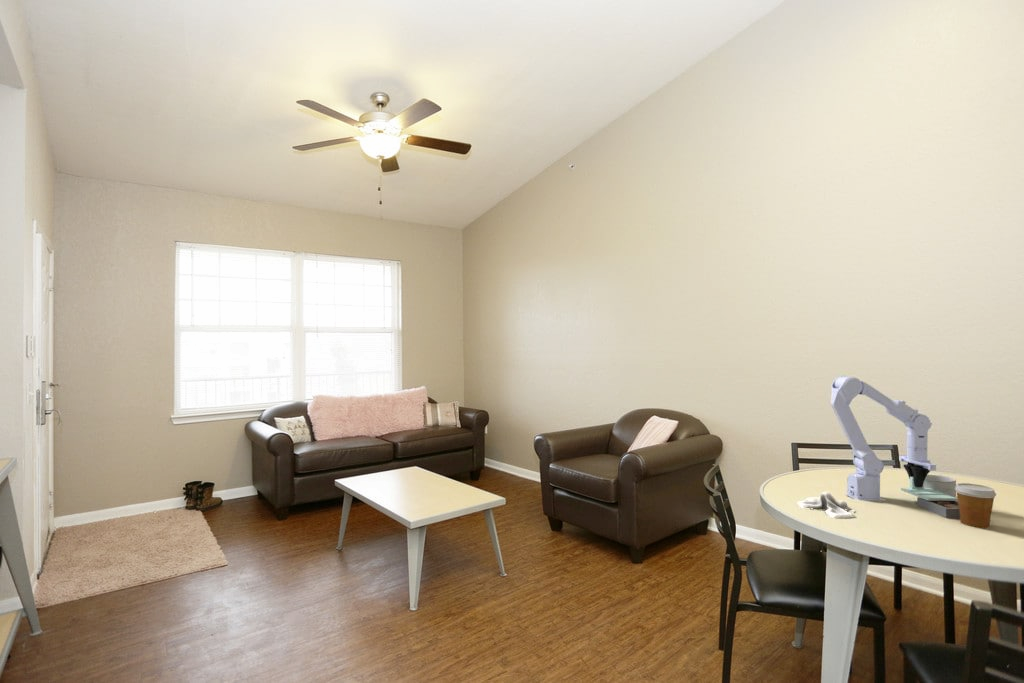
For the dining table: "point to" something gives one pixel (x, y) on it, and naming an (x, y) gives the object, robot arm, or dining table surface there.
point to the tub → (939, 508)
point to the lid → (927, 493)
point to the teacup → (941, 484)
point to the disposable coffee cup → (975, 504)
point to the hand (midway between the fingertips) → (916, 486)
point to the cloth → (828, 505)
